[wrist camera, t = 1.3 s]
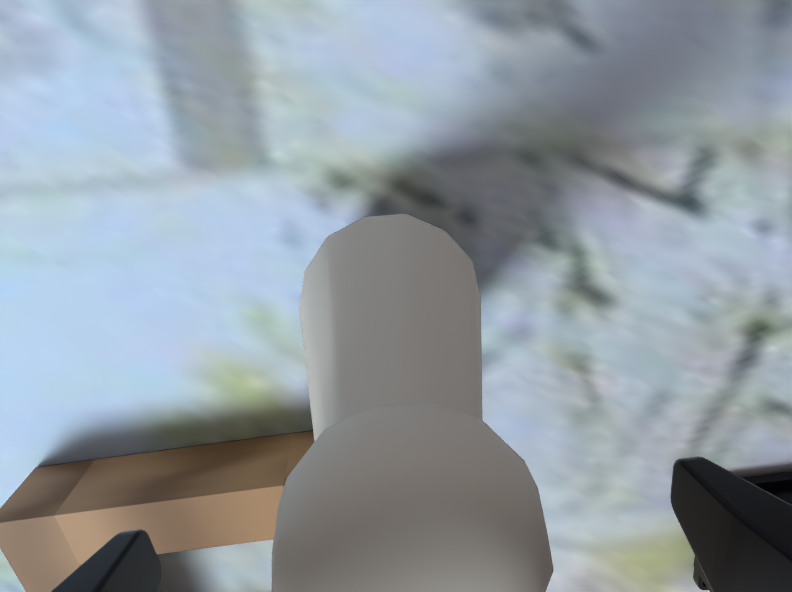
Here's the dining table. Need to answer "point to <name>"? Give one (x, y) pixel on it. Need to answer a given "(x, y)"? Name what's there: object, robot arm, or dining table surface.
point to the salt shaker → (402, 430)
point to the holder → (146, 503)
